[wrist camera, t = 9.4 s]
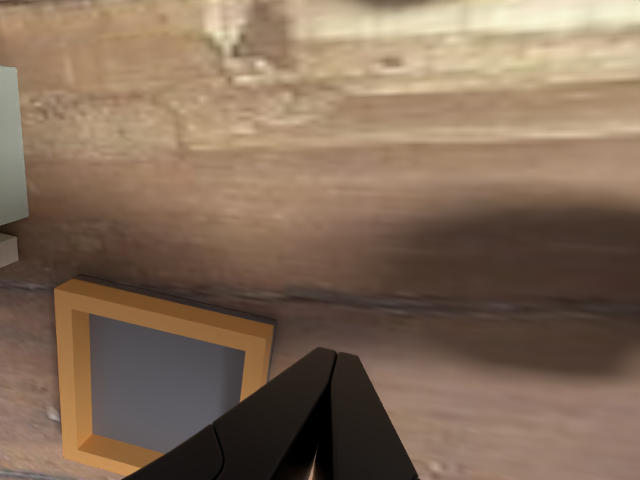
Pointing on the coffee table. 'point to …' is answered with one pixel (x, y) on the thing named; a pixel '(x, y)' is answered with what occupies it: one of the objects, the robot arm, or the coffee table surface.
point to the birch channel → (8, 249)
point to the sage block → (11, 151)
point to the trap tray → (148, 369)
